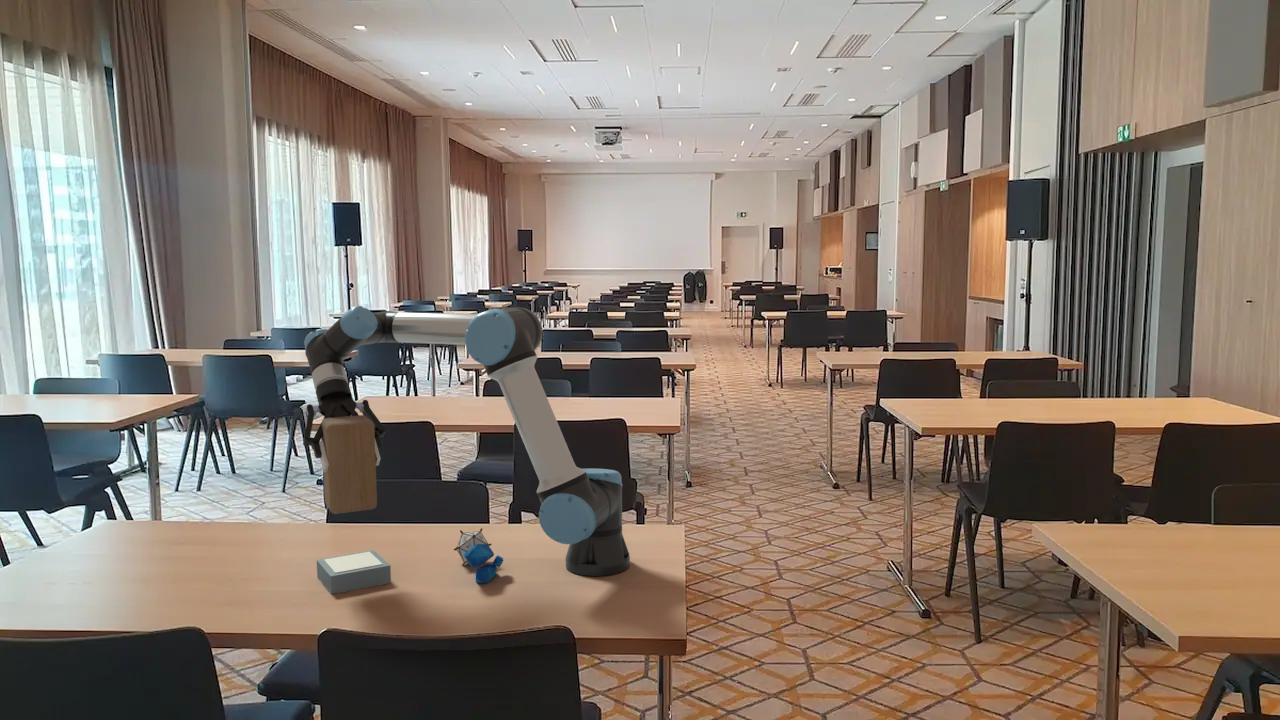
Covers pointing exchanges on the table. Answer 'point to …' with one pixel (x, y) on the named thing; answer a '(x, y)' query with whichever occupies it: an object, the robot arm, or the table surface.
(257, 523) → the table surface
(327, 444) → the wooden block
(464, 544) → the game die
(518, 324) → the robot arm
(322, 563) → the base
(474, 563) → the blue faceted figurine
